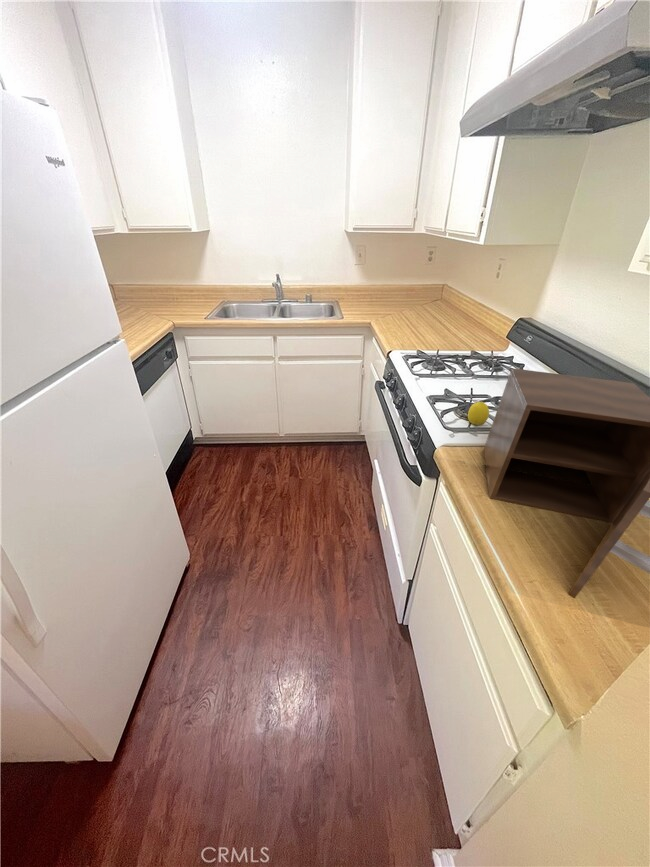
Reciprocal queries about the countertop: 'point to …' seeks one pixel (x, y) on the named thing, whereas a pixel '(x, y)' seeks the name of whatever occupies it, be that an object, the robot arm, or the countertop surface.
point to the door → (611, 539)
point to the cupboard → (569, 442)
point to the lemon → (478, 413)
